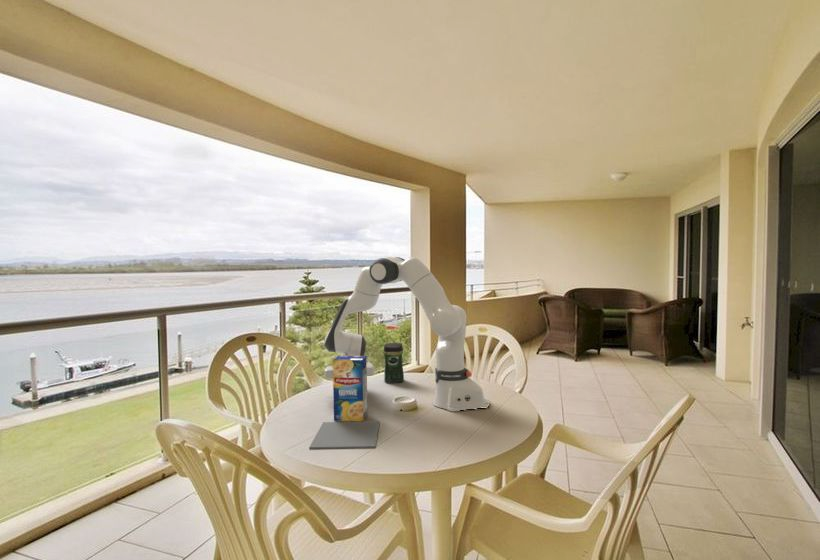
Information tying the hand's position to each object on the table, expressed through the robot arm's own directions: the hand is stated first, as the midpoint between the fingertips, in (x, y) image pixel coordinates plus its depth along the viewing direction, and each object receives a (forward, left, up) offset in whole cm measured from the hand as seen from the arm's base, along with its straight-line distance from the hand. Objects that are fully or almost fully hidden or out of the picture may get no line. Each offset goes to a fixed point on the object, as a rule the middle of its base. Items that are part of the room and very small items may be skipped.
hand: (349, 376), depth 152 cm
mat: (-3, +27, -12) cm, 29 cm away
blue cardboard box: (-2, +12, -12) cm, 17 cm away
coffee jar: (-16, -33, -12) cm, 39 cm away
